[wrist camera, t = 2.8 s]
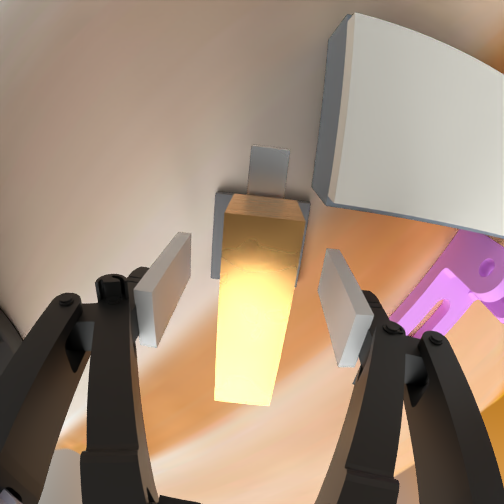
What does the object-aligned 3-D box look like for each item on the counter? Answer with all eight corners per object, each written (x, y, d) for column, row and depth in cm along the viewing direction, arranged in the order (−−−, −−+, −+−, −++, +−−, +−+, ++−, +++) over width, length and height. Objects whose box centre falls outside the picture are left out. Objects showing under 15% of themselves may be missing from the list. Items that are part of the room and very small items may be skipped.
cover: (327, 196, 14) (351, 224, 10) (347, 21, 11) (376, -14, 7) (531, 238, 14) (570, 265, 10) (551, 117, 11) (595, 125, 7)
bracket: (463, 221, 19) (517, 257, 13) (493, 257, 20) (540, 295, 14) (364, 342, 24) (387, 402, 17) (403, 362, 25) (427, 417, 18)
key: (233, 299, 22) (214, 400, 13) (247, 140, 17) (229, 149, 9) (269, 304, 22) (269, 405, 13) (290, 145, 17) (314, 160, 9)
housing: (212, 274, 22) (198, 313, 17) (233, 29, 15) (222, -1, 11) (466, 297, 22) (495, 328, 17) (509, 107, 15) (550, 111, 10)
